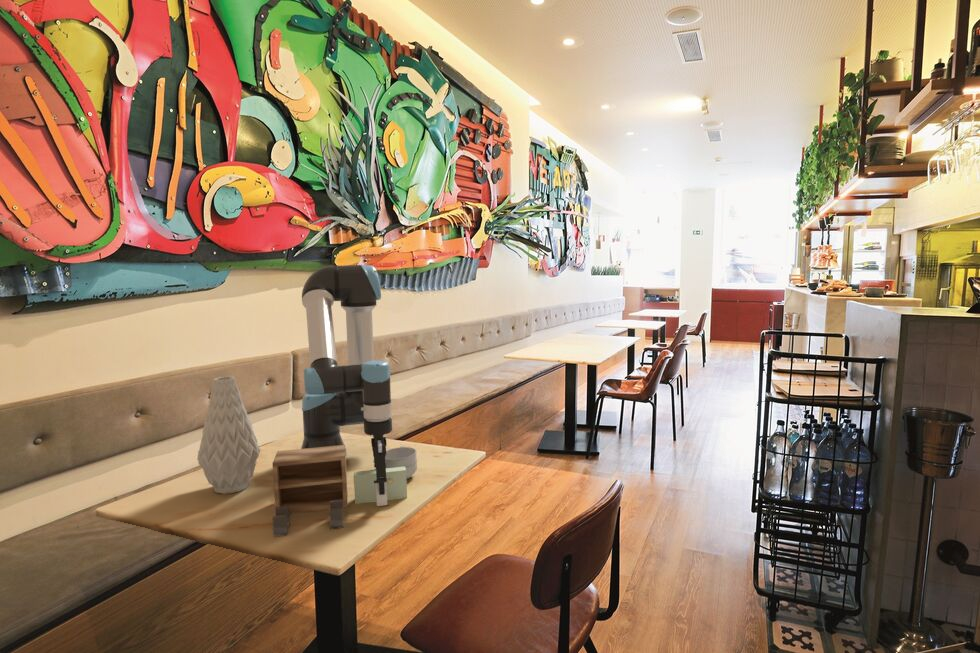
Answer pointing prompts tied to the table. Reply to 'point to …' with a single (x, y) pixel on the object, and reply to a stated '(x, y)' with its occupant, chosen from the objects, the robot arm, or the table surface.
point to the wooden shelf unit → (309, 484)
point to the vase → (227, 439)
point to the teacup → (402, 459)
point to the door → (367, 487)
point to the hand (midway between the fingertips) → (381, 497)
